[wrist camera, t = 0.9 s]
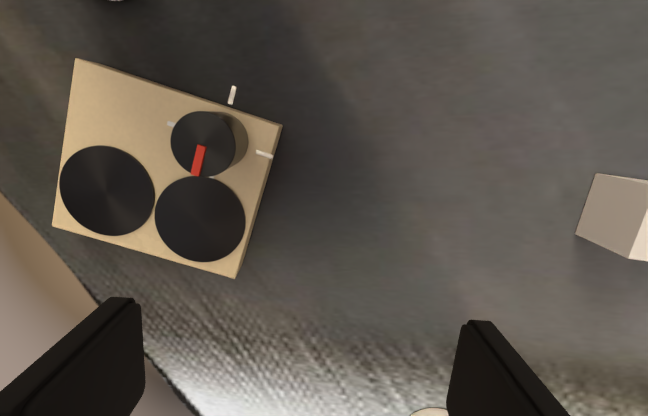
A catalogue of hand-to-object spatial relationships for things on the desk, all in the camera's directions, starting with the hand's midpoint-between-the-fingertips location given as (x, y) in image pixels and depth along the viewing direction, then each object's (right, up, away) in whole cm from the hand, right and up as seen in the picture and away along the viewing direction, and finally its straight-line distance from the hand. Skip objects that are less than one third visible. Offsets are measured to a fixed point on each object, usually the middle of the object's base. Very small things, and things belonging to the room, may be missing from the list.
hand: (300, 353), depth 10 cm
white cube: (+28, +4, +23) cm, 37 cm away
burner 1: (-17, +6, +19) cm, 26 cm away
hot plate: (-13, +7, +21) cm, 26 cm away
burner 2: (-10, +3, +19) cm, 22 cm away
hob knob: (-8, +10, +18) cm, 22 cm away
